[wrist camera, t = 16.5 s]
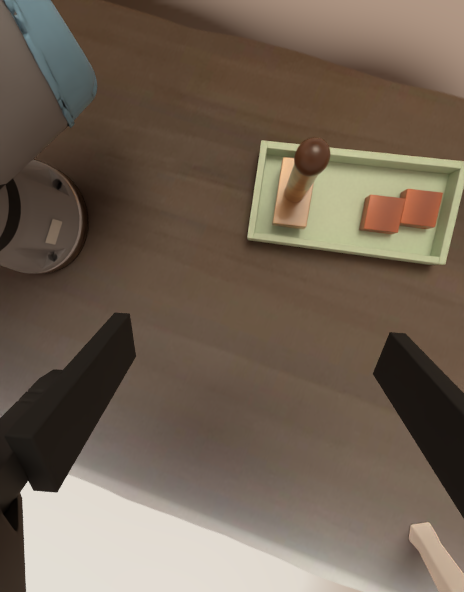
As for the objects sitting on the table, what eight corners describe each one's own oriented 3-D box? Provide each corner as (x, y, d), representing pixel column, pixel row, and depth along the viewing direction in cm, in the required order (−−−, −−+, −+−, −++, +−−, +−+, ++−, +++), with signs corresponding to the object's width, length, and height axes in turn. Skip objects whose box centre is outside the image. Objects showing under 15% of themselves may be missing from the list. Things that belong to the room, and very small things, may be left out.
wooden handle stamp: (271, 227, 33) (281, 198, 20) (280, 166, 32) (297, 93, 19) (302, 231, 33) (333, 204, 19) (312, 169, 32) (352, 97, 19)
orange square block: (393, 225, 32) (400, 222, 30) (400, 192, 31) (407, 188, 30) (426, 229, 31) (435, 227, 30) (434, 196, 31) (443, 192, 29)
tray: (247, 240, 34) (247, 237, 32) (261, 149, 33) (261, 140, 30) (431, 265, 32) (445, 264, 30) (453, 170, 31) (469, 161, 28)
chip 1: (358, 230, 32) (363, 228, 31) (365, 197, 32) (370, 194, 30) (391, 234, 32) (398, 232, 30) (398, 201, 31) (405, 198, 30)
